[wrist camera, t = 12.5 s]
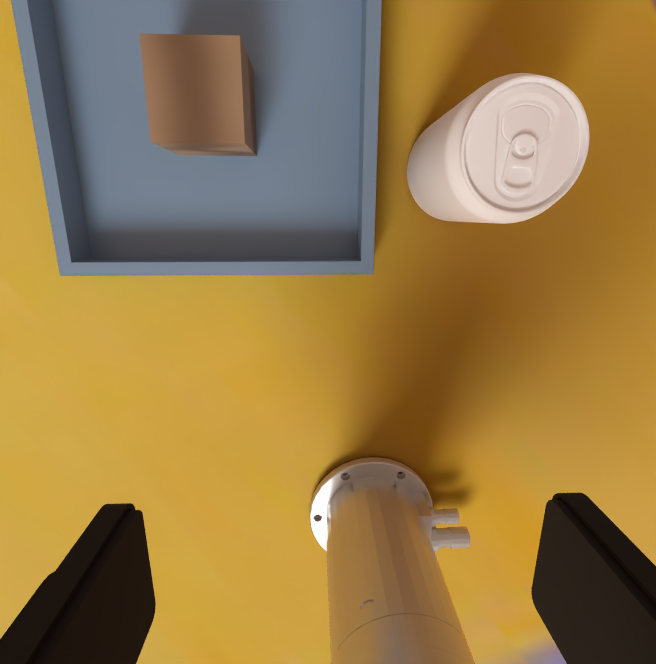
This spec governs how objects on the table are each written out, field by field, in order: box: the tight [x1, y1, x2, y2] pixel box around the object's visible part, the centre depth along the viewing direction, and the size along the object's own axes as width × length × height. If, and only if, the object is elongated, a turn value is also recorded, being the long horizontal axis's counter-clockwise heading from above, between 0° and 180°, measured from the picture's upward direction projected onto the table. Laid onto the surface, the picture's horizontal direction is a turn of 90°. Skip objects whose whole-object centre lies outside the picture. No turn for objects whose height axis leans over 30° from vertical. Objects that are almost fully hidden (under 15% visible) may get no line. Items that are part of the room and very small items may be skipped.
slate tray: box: [11, 0, 382, 276], centre depth 30 cm, size 24×24×4 cm
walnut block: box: [139, 33, 257, 156], centre depth 28 cm, size 6×6×6 cm
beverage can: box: [407, 73, 589, 224], centre depth 28 cm, size 8×8×12 cm
